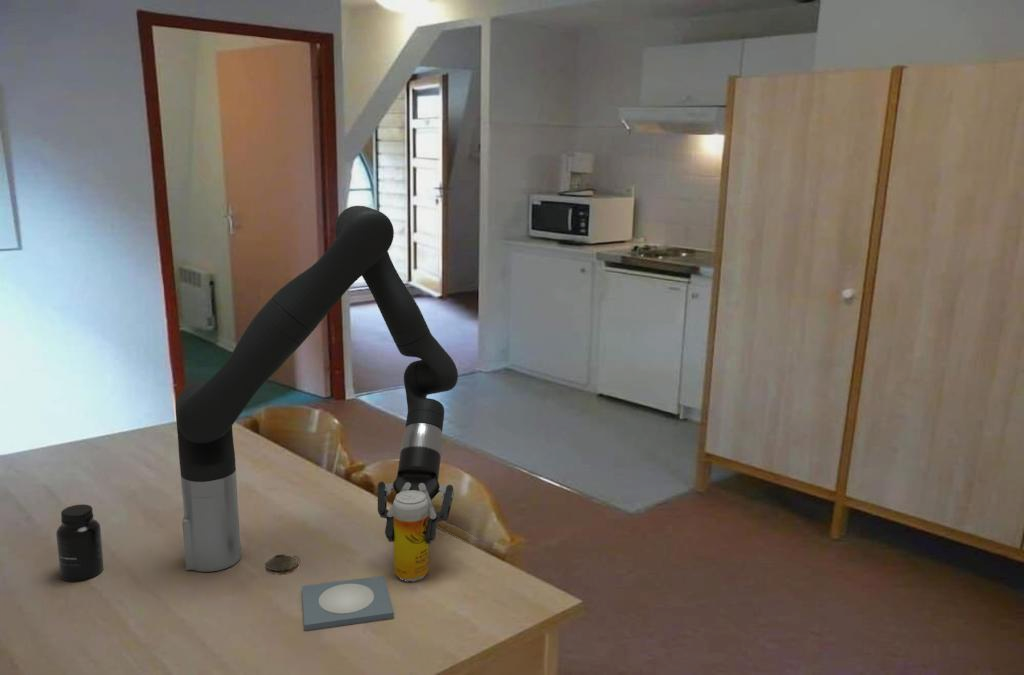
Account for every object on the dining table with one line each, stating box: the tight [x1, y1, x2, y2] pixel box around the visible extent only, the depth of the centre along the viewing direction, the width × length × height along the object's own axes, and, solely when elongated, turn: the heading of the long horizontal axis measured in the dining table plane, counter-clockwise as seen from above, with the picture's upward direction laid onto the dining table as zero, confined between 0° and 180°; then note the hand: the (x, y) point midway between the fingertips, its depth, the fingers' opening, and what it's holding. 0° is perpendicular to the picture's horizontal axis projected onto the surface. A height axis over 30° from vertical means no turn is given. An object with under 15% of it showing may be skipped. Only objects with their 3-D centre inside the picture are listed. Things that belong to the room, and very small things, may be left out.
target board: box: [301, 575, 395, 632], centre depth 132 cm, size 14×12×1 cm
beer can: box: [392, 490, 430, 582], centre depth 141 cm, size 6×6×15 cm
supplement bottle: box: [55, 504, 104, 582], centre depth 139 cm, size 7×7×12 cm
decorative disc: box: [265, 554, 300, 575], centre depth 144 cm, size 6×6×1 cm
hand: (409, 541), depth 139 cm, fingers closed on beer can, 6 cm apart
